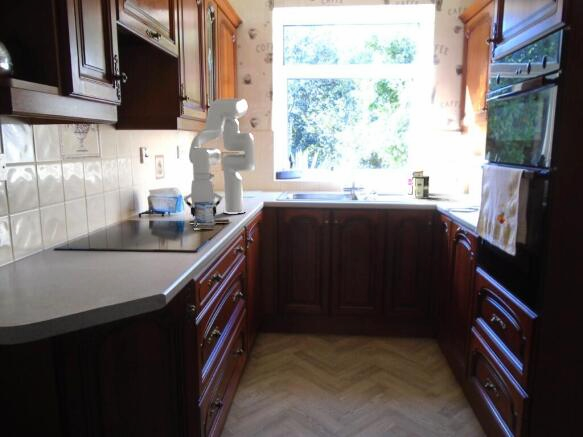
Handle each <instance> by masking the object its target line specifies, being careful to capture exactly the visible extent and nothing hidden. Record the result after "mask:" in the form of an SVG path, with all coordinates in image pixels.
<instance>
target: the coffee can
mask: <svg viewBox="0 0 583 437" xmlns="http://www.w3.org/2000/svg"><path fill="white" fill-rule="evenodd" d="M429 192H430V176H429V175H423V176H413V194H412V199H413V198H414V199H429V198H430V197H429V194H430V193H429Z"/></svg>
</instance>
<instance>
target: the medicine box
mask: <svg viewBox="0 0 583 437" xmlns="http://www.w3.org/2000/svg"><path fill="white" fill-rule="evenodd" d="M194 212H195V216H194V220H195V222H202V223H210V222H213V220H214V216H213V203H195V204H194Z"/></svg>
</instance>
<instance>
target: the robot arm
mask: <svg viewBox="0 0 583 437" xmlns="http://www.w3.org/2000/svg"><path fill="white" fill-rule="evenodd" d="M208 108H209V109H208V112H207V116H206V121H205V124H204V128H203V129H201V130H200V131H199V132H198V133H197V134H196V135H195V136H194V137H193V139H192V141H191V144H190V146H189V153H188V158H189V159H188V160H189V161H190V163H191V164H192V171H193V173H192V176H193V180H192V181H191V185H190V186H191V190H190V191H191V192H190V193H189V194H188V195H186V196H184V198H183V201H184V202H185V204H186V205H187V206H188V207H189V208H190V215H192V217H193V218H195V212H194V204H195V203H213V217H215V216H216V215H217V207H218V206H219V205H220V203H221V201H222V200H223V196H221V195H219V194H217V193H216V191H215V185H214V184H215V183H214V180H213V178H215V173H214V174H212V173H211V166H215V165H218V164H219V163H220V162H221V166H222V170H223V178H224V179H223V180H224V183H223V184H224V202H225V203H224V204H225V205H224V206H225V207H224V208H225V209H224V210H226V211H227V212H241V211H243V210H244V196H243V195H244V194H243V192H244V190H243V179H242V176H241V175H240V174H239V173H242V172H243V173H249V172H253V171H254V170H255V168H256V155H255V154H256V153H255V151H256V150H255V141H254V139H255V138H254V137H253V135H252V134H251V133H250V132H240V126H239V124H240V123H239V121H238V119H240V118H243V116H245V115H246V113H247V110H248V103H247V101H246V100H245V99H244V98H242V97H241V98H240V97H239V98H235V97H234V98H219V99H215V100H214V101H213V102H212V103H211V104H210V105H209V107H208ZM220 136H222V139H223V140H222V142H223V148H224V150H225V151H228V152H244V153H227V154H225V155H223V156H222V153H221V151H220V150H219V149H217V148H215V147H211V148H210V147H202V146H203V145H205V144H206V143H208V142H210V141H212V140H215V139H217V138H219V137H220ZM190 198H191V202H190V201H189V200H188V199H190ZM216 198H218V199H217V201H215V199H216Z"/></svg>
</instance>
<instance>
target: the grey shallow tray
mask: <svg viewBox="0 0 583 437" xmlns="http://www.w3.org/2000/svg"><path fill="white" fill-rule="evenodd" d="M215 220H216V219H213V222H210V223H212V225H197V223H202V222H194V225H192V229H193V228H214V225H216V224H215ZM196 225H197V226H196ZM214 229H215V228H214Z"/></svg>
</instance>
